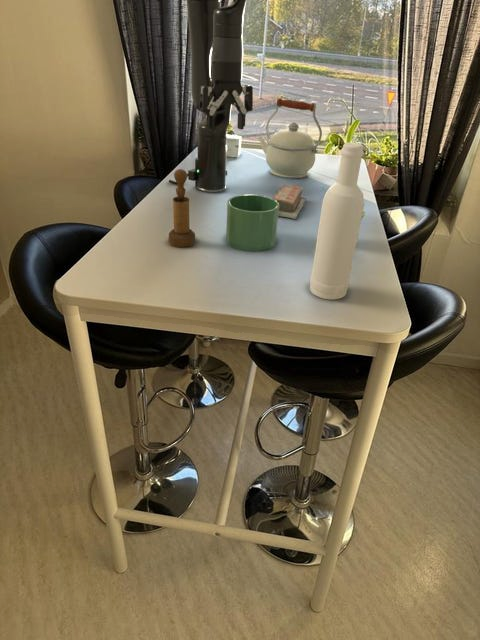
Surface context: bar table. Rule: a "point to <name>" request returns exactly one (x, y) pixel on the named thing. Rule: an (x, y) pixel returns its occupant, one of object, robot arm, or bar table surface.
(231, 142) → the white small box
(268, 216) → the cup
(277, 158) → the kettle
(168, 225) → the bar table surface
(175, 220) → the brown knobbed turned figurine
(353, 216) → the bottle
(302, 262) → the bar table surface
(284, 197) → the packaged product
